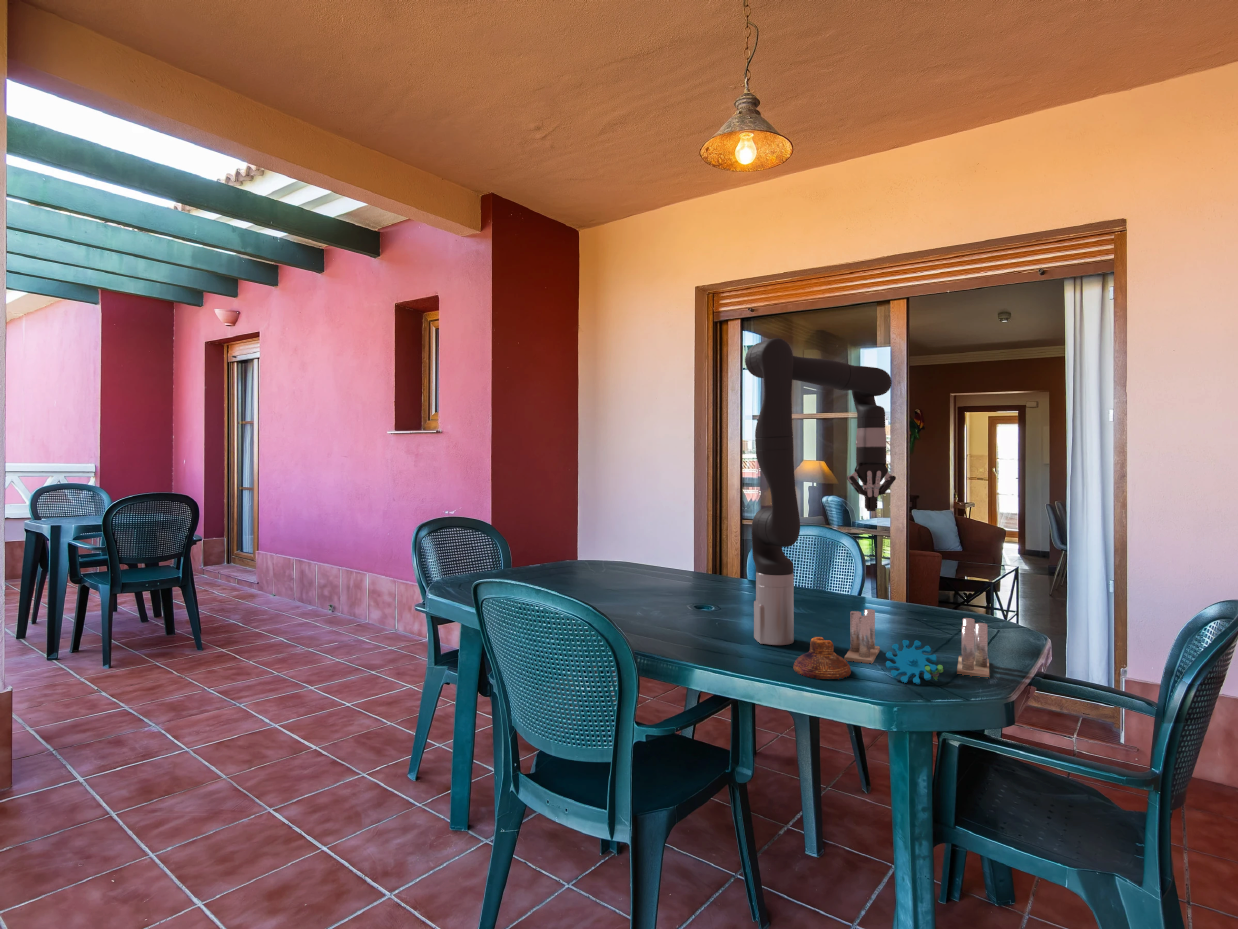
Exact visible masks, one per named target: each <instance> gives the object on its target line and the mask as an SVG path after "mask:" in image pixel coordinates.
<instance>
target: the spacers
mask: <svg viewBox="0 0 1238 929" xmlns="http://www.w3.org/2000/svg"><path fill="white" fill-rule="evenodd" d="M849 612H850V614H849V615H850V618H849V619H850V620H849V621H850V628H849V629H850V630H849V631H850V634H849V635H850V638H849V639H850V646H849V647H850V648H849V650H850V651H852V652H859V657H862V658H870V649H875V646H876V610H875V609H872V608H867V609H866V608H865V609H863V615H862V612H860V611H858V610H857V611H855V610H854V611H853V610H852V611H849ZM975 621H976V620H975V619H974V618H971V617H970V618H969V617H963V618H962V625H961V656H962V669H963V670H968V671H973V670H974V660H975V666H978V667H987V659H988V624H987V623H985V622H975Z"/></svg>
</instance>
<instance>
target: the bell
mask: <svg viewBox="0 0 1238 929" xmlns="http://www.w3.org/2000/svg"><path fill="white" fill-rule="evenodd" d="M809 644H810V645H809V651H808V652H805V653H803V654H801V655H800V656H798V657H797V658H796V659H795V661H794V663H793V666H792V667H793V670H794V672H795V673H796V672H797V673H796V674H798V675H800V674H801V675H800V676H802V675H803V677H805V676H806V677H805V678H809V677H810V678H809V679H813V678H816V679H815V680H820V679H838V680H840V679H839V678H842V679H844V677H846V678H848V677H850V675H851V673H852V670H851V666H850V664H849V663H848V661H846V660H844V658H843V657H842V656H840V655H838V654H837V653H835V652H834V649H835V648H834V643H833V642H832V641H831V640H825V639H824V637H822V636H814V637H813V638H811V639H810V643H809ZM847 676H848V677H847Z"/></svg>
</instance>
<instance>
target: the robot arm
mask: <svg viewBox="0 0 1238 929" xmlns="http://www.w3.org/2000/svg"><path fill="white" fill-rule="evenodd" d="M744 363H745V365H744V366H745V367H746V369H747V371H748V372H749V373H750V374H751V375H752V376H753V377H756V378H758V379H763V388H764V389H763V390H764V391H763V392H764V393H763V401H762V405H761V407H760V408H761V409H760V411H759V415H758V418H757V421H756V425H755V431H754V432H755V433H754V441H755V442H754V443H755V456H756V461H757V464H758V466H759V468H760V471H761V472H762V475H763V476H764V478H765V480H766V482H767V485H768V488H769V492H770V497H771V498H770V499H771V507H769V508H767V507H765V508H761V509H760V510H758V511H757V512H756V513H755V515H754V517H753V519H752V522H751V551H752V559H753V563H754V566H755V572H756V573H755V578H756V579H755V600H754V601H753V639H755V640H756V642H757V643H758V642H759V643H760V645H763V644H764V645H770V646H771V645H772V646H785V645H786V646H787V645H790V644H791V645H792V644H793V643H794V638H795V633H794V631H795V630H794V624H795V623H794V622H795V621H794V620H795V618H794V614H795V613H794V609H795V608H794V597H795V596H794V589H795V588H794V584H795V583H794V571H795V570H794V569H795V568H794V563H793V562H794V561H792V560H791V559H790V558H789V557H788V556H786V554H785V553H784V550H783V548H789V547H791V546H793V545H794V544H795V543H796V542H797V541H798V539H799V537H800V531H801V519H800V512H799V504H798V498H797V491H796V480H795V478H796V477H795V466H794V465H795V463H794V432H793V409H792V408H793V407H792V406H793V405H792V386H793V381H797V382H803V383H808V384H812V385H816V386H820V387H825V388H828V389H834V390H838V391H842V392H843V391H846V392H847V391H850V392H851V395H852V400H853V403H854V407H855V410H856V415H857V416H856V437H855V449H856V452H855V462H856V466H855V468H854V472H852V473H851V474H850V475H846V480H847V481H848V483H849V484H850V485H851V486H852V488H853V490H854V491H855V492H856V493H857V494H858V495H861V496H863V497H864V508H865V509H866V511H867V512H876V510H877V509H878V499H879V498H878V497H879V496H882V495H885V494H886V493H887V491H888V490H889V489H890V487H891V486H892V485H893V484H894V482H895V481H896V480H897V477H896V476H895V475H892V474H891V473H890V472H889V469H888V467H887V434H886V410H885V408H884V407H883V406H881V405H877V403H876V399H875V397H878V396H879V397H880V396H883V395H885V394H886V393H888V392H889V391H890V389H891V387H892V377H891V375H890V374H889V373H888V372H887V371H886V370H885V369H883V368H879V367H874V366H866V365H865V366H864V365H853V364H850V363H846V362H841V361H837V360H833V359H827V358H815V357H804V356H803V357H802V356H797V355H794V353H793V350H792V348H791V345H790V344H789V342H787V341H786V340H784V339H783V338H779V337H776V338H775V337H774V338H771V339H767V340H763V341H760V342H757V343H755V344H753V345H752V346H751V347H749V349H748V350H747V352H746V354H745V356H744ZM858 480H860V482H862V485H861V484H860V482H859V481H858ZM883 480H884V481H883ZM882 481H883V483H882ZM881 483H882V484H881ZM759 643H758V644H759Z"/></svg>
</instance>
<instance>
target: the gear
mask: <svg viewBox="0 0 1238 929" xmlns="http://www.w3.org/2000/svg"><path fill="white" fill-rule="evenodd" d="M901 642H902V645H903V648H902V650H900V648H899V644H898V643H894V644H892V645H891V648H892V650H893V651H894V652H896V656H894V655H893V652H892V651H890V650H888V651H887V652H886V654H885V658H886V659H889V660H887V661H886V662H885V667H886V669H889V670H890V669H891V670H890V674H891V676H892V678H893V679H896V678H898V676H900V675H902V676H900V682H901V683H903V682H904V683H903V684H905V683H907V682H909V679H910V678H911V677H913V676H912V675H916V676H914V677H913V679H912V682H913V684H914V683H916V684H915V685H921V679H920V678H919V677H920V675H921V674H923V678H924V680H925V681H929V680H931V679H932V677H933V680H934V679H935V680H937V679H938V677H939V676H940V673H943V672H944V667H943V665H942V664H938V665H936V664H932V663H937V658H938V657H937V655H936V654H931V653H932V648H931V647H930V646H929V645H925V646H924V647H923V648H921V647H922V642H921V641H920V640H917V639H916V640H914V642H913V645H912V647H909V646H910V641H909V640H907V639H902V641H901ZM908 647H909V648H908ZM917 648H921V649H917ZM924 653H925V654H924ZM928 654H930V655H928ZM890 660H893V661H894V662H895V663H893V662H891V661H890ZM927 660H930V661H931V662H932V663H929V662H928V661H927ZM893 668H894V669H898V670H894V669H893ZM892 669H893V670H892ZM903 674H906V675H903ZM935 680H934V681H935ZM937 681H938V680H937ZM907 684H908V683H907Z"/></svg>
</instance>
